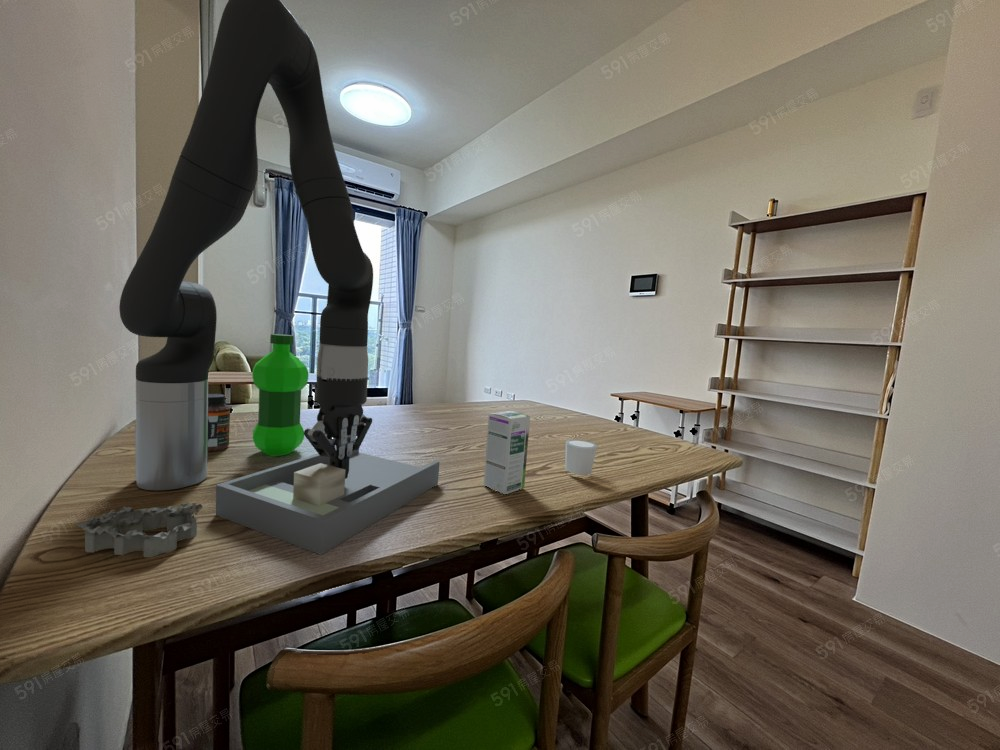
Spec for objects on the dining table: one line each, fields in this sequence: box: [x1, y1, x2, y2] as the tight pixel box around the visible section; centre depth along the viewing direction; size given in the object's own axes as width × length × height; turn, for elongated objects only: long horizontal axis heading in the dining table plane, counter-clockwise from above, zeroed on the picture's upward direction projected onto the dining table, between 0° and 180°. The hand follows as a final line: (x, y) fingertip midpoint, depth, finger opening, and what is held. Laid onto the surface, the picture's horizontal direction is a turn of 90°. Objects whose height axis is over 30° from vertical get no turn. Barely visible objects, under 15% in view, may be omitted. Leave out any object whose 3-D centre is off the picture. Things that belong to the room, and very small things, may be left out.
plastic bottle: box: [251, 333, 309, 457], centre depth 85 cm, size 10×10×25 cm
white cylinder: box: [564, 439, 598, 475], centre depth 89 cm, size 7×7×7 cm
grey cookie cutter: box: [75, 502, 204, 558], centre depth 50 cm, size 11×8×4 cm
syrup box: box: [483, 410, 531, 495], centre depth 77 cm, size 6×6×14 cm
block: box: [293, 463, 345, 506], centre depth 61 cm, size 5×5×4 cm
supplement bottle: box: [207, 393, 231, 452], centre depth 85 cm, size 6×6×11 cm
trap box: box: [215, 447, 440, 556], centre depth 67 cm, size 20×28×4 cm
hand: (339, 479), depth 66 cm, fingers closed
